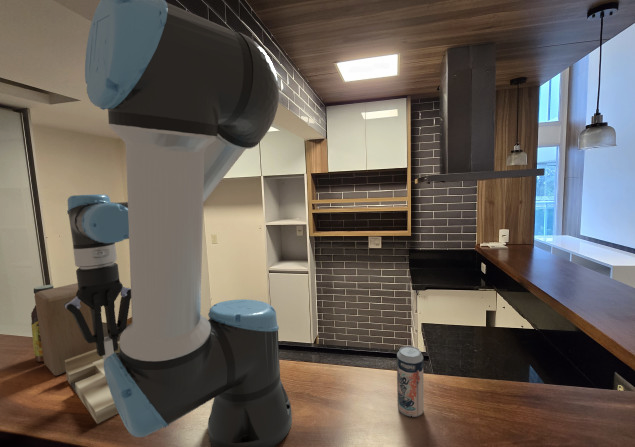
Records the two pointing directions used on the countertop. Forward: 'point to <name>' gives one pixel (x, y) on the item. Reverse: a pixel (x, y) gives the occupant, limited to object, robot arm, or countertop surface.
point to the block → (61, 327)
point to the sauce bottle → (37, 327)
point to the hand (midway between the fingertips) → (109, 366)
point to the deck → (91, 384)
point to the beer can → (410, 381)
